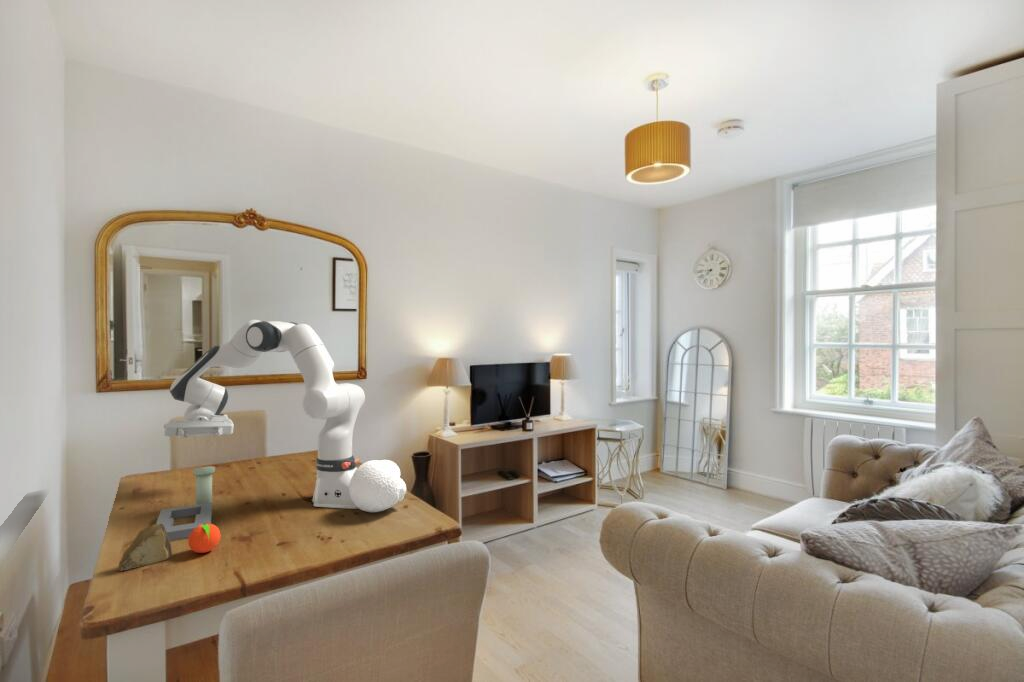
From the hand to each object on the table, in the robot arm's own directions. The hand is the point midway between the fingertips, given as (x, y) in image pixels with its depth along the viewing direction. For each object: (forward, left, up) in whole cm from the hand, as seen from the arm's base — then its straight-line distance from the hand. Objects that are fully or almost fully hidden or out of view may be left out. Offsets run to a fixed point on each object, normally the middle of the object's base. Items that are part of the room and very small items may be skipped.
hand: (201, 434), depth 162 cm
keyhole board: (-18, +19, -22) cm, 34 cm away
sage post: (-9, +6, -22) cm, 24 cm away
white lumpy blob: (-62, -11, -22) cm, 67 cm away
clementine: (-40, +30, -22) cm, 54 cm away
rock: (-32, +39, -22) cm, 55 cm away
